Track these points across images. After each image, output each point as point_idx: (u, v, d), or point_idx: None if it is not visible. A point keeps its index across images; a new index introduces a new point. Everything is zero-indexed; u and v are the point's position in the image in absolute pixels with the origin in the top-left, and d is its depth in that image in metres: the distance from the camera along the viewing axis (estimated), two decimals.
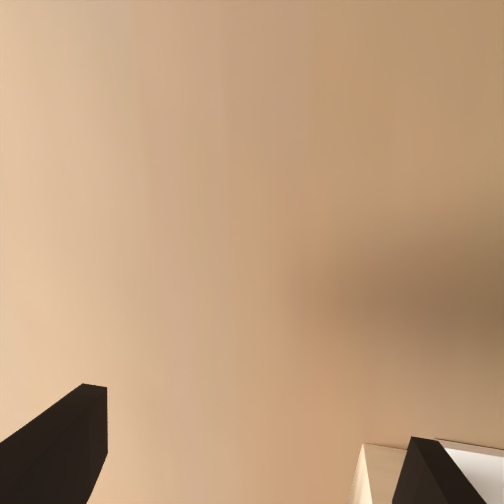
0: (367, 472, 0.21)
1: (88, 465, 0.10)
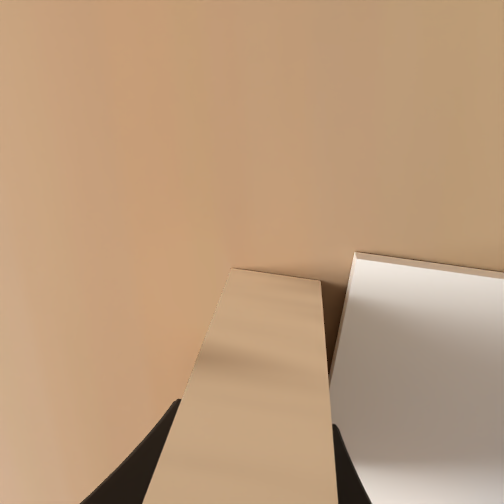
0: (220, 298, 0.11)
1: None
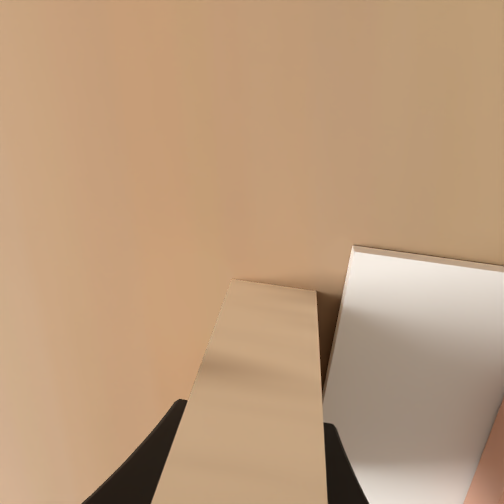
0: (221, 308, 0.12)
1: None
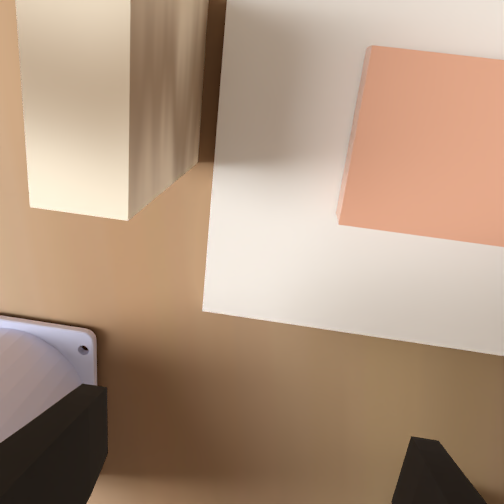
0: None
1: (88, 465, 0.10)
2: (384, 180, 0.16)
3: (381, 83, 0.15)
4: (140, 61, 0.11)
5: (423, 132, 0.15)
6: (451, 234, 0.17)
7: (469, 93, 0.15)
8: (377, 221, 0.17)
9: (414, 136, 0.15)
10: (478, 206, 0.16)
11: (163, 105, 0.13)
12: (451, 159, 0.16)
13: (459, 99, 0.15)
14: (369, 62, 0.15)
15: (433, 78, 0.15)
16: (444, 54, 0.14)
